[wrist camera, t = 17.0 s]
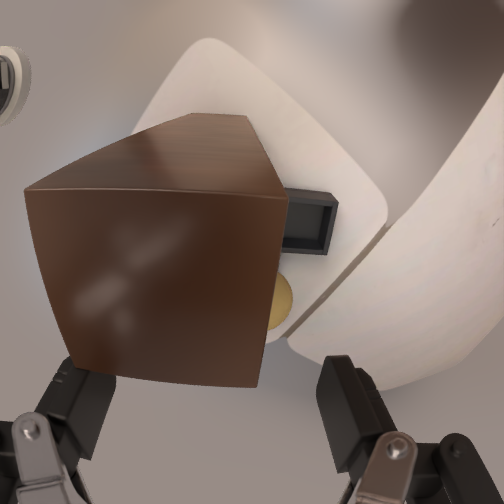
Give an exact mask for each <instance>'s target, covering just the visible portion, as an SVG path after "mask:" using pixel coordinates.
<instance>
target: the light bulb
mask: <svg viewBox="0 0 504 504" xmlns="http://www.w3.org/2000/svg"><path fill="white" fill-rule="evenodd" d="M292 301H293V297H292V290H291V287H290V285H289V283H288V282H287V280H286V279H285V277H284V276H283V275H281V274H280V273H279V272H277V278H276V284H275V290H274V296H273V302H272V308H271V313H270V319H269V325H268V330H271V329H274V328H275V327H277V326H278V325H279V324H281V323H282V322H283V321H284V320H285V318H286V317H287V316H288V314H289V312H290V310H291V306H292Z"/></svg>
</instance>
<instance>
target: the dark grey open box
mask: <svg viewBox="0 0 504 504" xmlns="http://www.w3.org/2000/svg"><path fill="white" fill-rule="evenodd" d="M284 189H285V191H286V193H287V195H288V197H289V203H288V209H287V216H286V222H285V229H284V235H283V242H282V248H281V252H283V253H299V254H315V255H327V253H328V249H329V245H330V240H331V236H332V231H333V227H334V222H335V218H336V213H337V208H338V204H339V202H338V201H337V200H336V199H335V197H334V196H333V195H332V194H331V193H327V192H319V191H310V190H301V189H291V188H284Z"/></svg>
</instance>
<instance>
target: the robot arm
mask: <svg viewBox="0 0 504 504" xmlns="http://www.w3.org/2000/svg"><path fill="white" fill-rule="evenodd" d="M14 85H15V71H14V67H13V64H12V62H11V60H10V59H9V58H8V57H6V56H4V55H0V115H1V114H2V113H3V112H4V111H5V109H6V108H7V106H8V104H9V102H10V100H11V97H12V94H13V91H14ZM115 388H116V375H111V374H105V373H100V372H94V371H89V370H84V369H80V368H76V367H75V366H74V363H73V361H72V359H71V357H70V356H69V357H67V358H66V359H65V360H64V361H63V362H62V364H61V365H60V367H59V369H58V371H57V373H56V374H55V375H54V377H53V381H51V382H50V384H49V386H48V388H47V389H46V391H45V393H44V395H43V396H42V398H41V400H40V402H39V404H38V406H37V407H36V409H35V411H34V412H27V413H24V414H22V415H20V416H19V417H18V418H16V420H15V421H14V422H7V421H0V504H18V502H19V504H94V502H93V500H92V498H91V496H90V494H89V491H88V489H87V487H86V484H85V482H84V479H83V477H82V475H81V472H80V470H79V467H78V466H77V465H78V462H79V459H80V458H83V459H87V460H91V458H92V455H93V452H94V448H95V445H96V443H97V440H98V437H99V434H100V431H101V428H102V425H103V422H104V419H105V416H106V413H107V411H108V408H109V405H110V402H111V400H112V397H113V394H114V392H115ZM316 398H317V403H318V407H319V410H320V414H321V417H322V420H323V424H324V427H325V431H326V434H327V438H328V441H329V445H330V448H331V452H332V455H333V459H334V463H335V466H336V470H337V473H344V472H349V475H350V480H349V481H348V483H347V485H346V487H345V489H344V491H343V493H342V495H341V497H340V499H339V501H338V503H337V504H404V502H405V500H406V502H407V504H504V502H503V500H502V498H501V496H500V494H499V492H498V490H497V488H496V486H495V484H494V482H493V480H492V478H491V476H490V474H489V473H488V471H487V469H486V467H485V465H484V463H483V461H482V459H481V458H480V456H479V454H478V452H477V451H476V449H475V447H474V445H473V443H472V442H471V441H470V439H468V438H467V437H466V436H464V435H462V434H459V433H452V434H449V435H447V436H445V437H444V438H443V439H442V441H441V442H440V443H416V442H415V441H414V440H413V438H412V437H410V436H409V435H407V434H405V433H403V432H399V431H398V430H397V428H396V427H395V424H394V422H393V420H392V418H391V416H390V414H389V412H388V410H387V408H386V406H385V404H384V402H383V400H382V398H381V396H380V394H379V392H378V390H376V386H375V384H374V382H373V380H372V378H371V376H369V375H368V374H367V373H366V372H365V371H364V370H363V369H362V368H355V367H354V365H353V363H352V361H351V359H350V357H349V356H348V355H335V356H327V357H326V358H325V360H324V364H323V367H322V371H321V374H320V377H319V381H318V384H317V389H316ZM444 487H445V488H444ZM446 492H447V493H446ZM447 494H448V495H447ZM448 496H449V497H448ZM449 499H450V500H449ZM450 501H451V502H450Z"/></svg>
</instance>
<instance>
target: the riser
mask: <svg viewBox="0 0 504 504" xmlns="http://www.w3.org/2000/svg"><path fill="white" fill-rule="evenodd" d="M24 195H25V203H26V209H27V214H28V220H29V225H30V230H31V234H32V239H33V244H34V248H35V252H36V256H37V260H38V264H39V268H40V272H41V275H42V279H43V282H44V285H45V288H46V291H47V295H48V298H49V301H50V304H51V307H52V310H53V313H54V316H55V319H56V321H57V324H58V327H59V329H60V332H61V334H62V337H63V340H64V342H65V345H66V347H67V350H68V352H69V354H70V357H71V359H72V361H73V363H74V366H75V367H76V368H80V369H84V370H89V371H94V372H100V373H105V374H111V375H116V376H123V377H130V378H136V379H143V380H151V381H159V382H168V383H177V384H188V385H201V386H217V387H240V388H241V387H242V388H256V387H257V384H258V379H259V373H260V368H261V363H262V357H263V352H264V347H265V341H266V336H267V330H268V325H269V319H270V313H271V308H272V302H273V296H274V290H275V284H276V278H277V272H278V266H279V260H280V254H281V248H282V242H283V235H284V229H285V222H286V216H287V209H288V203H289V197H288V195H287V193H286V191H285V189H284V187H283V185H282V183H281V181H280V179H279V177H278V175H277V173H276V171H275V169H274V167H273V165H272V163H271V162H270V160H269V158H268V156H267V154H266V152H265V150H264V148H263V146H262V144H261V142H260V140H259V139H258V137H257V135H256V133H255V131H254V129H253V127H252V125H251V124H250V122H249V120H248V118H247V116H240V115H225V114H205V113H191V114H188V115H185V116H182V117H179V118H176V119H173V120H170V121H167V122H165V123H162V124H159V125H157V126H154V127H151V128H149V129H146V130H144V131H141V132H139V133H136V134H134V135H131V136H129V137H126V138H124V139H122V140H119V141H117V142H115V143H112V144H110V145H108V146H106V147H104V148H101V149H99V150H97V151H95V152H93V153H91V154H89V155H86V156H84V157H82V158H80V159H79V160H77V161H74V162H72V163H71V164H68V165H67V166H65V167H63V168H61V169H59V170H57V171H55V172H53V173H52V174H50V175H48V176H46V177H44V178H43V179H41V180H39V181H37V182H36V183H34V184H32V185H31V186H29V187H27V188H25V189H24Z"/></svg>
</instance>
